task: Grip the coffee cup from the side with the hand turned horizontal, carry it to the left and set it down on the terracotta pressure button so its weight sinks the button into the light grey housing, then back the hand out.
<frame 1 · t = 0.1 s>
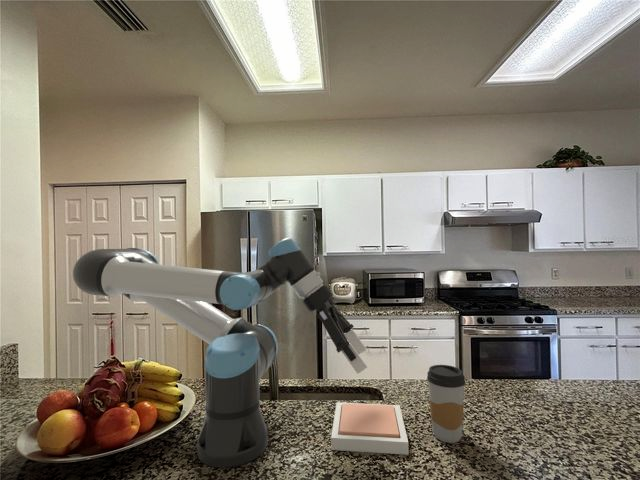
hand: (362, 360, 84), 15 cm above the countertop, tool tilted 35°, fingers open, 13 cm apart
coffee cup: (446, 436, 77), on the countertop
button housing: (368, 431, 79), on the countertop
pressure button: (368, 419, 79), point 3 cm above the countertop, slide at 0.0 cm
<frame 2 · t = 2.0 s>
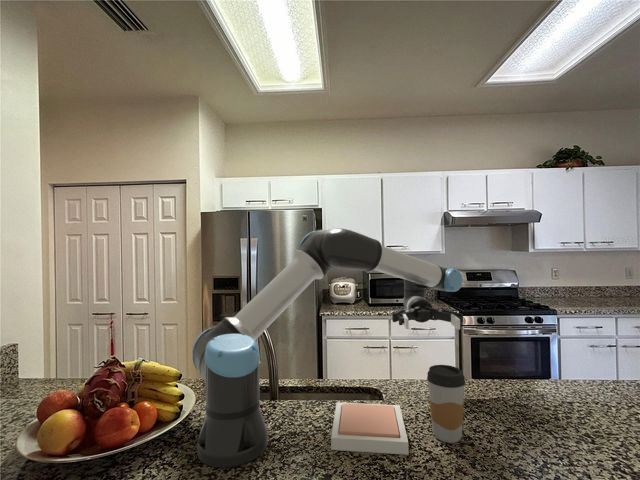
hand: (432, 324, 91), 23 cm above the countertop, tool horizontal, fingers open, 13 cm apart
nothing on the countertop moved.
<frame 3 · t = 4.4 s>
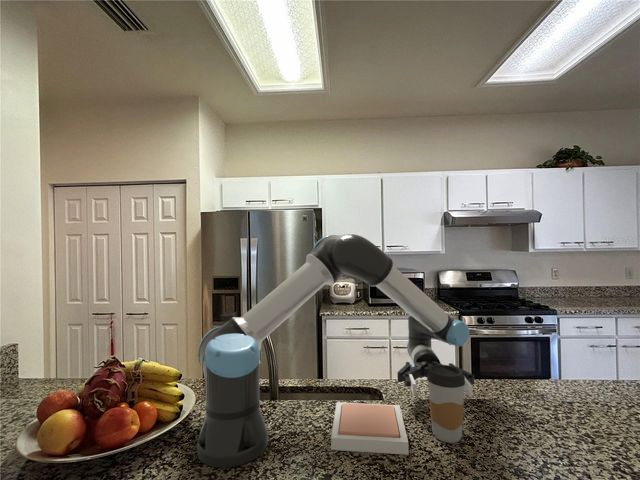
hand: (442, 390, 83), 8 cm above the countertop, tool horizontal, fingers open, 13 cm apart
nothing on the countertop moved.
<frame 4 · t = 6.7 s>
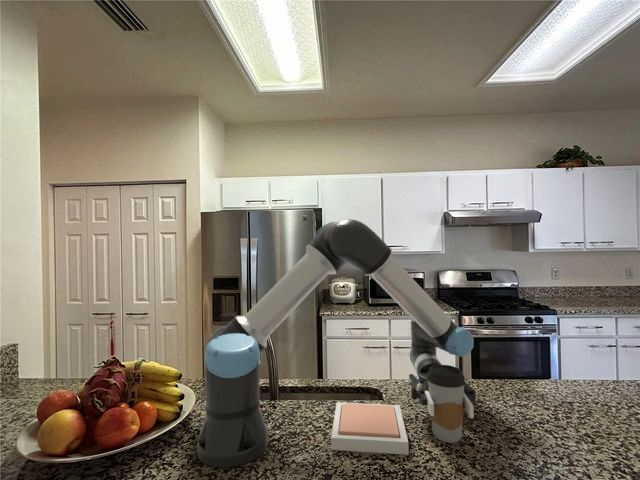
hand: (451, 410, 72), 8 cm above the countertop, tool horizontal, fingers closed on coffee cup, 7 cm apart
coffee cup: (446, 436, 77), on the countertop, touching gripper
everything else where it was.
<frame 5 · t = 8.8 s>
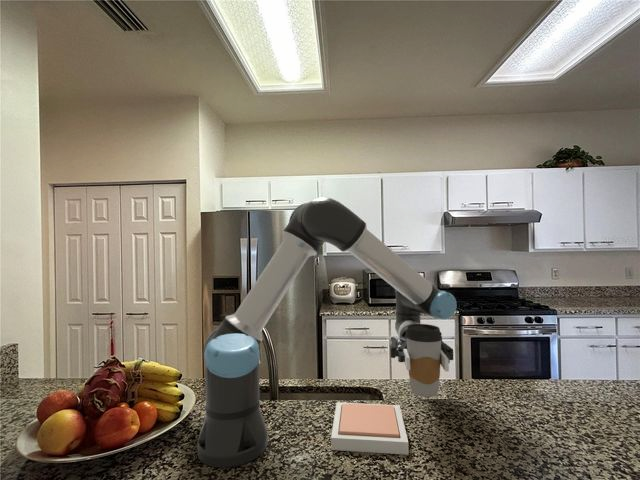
hand: (427, 364, 74), 18 cm above the countertop, tool horizontal, fingers closed on coffee cup, 7 cm apart
coffee cup: (424, 392, 78), point 10 cm above the countertop, touching gripper
everything else where it was.
when the fingers open (12 cm above the countertop, at t = 11.2 s): coffee cup drops 3 cm, resting on pressure button.
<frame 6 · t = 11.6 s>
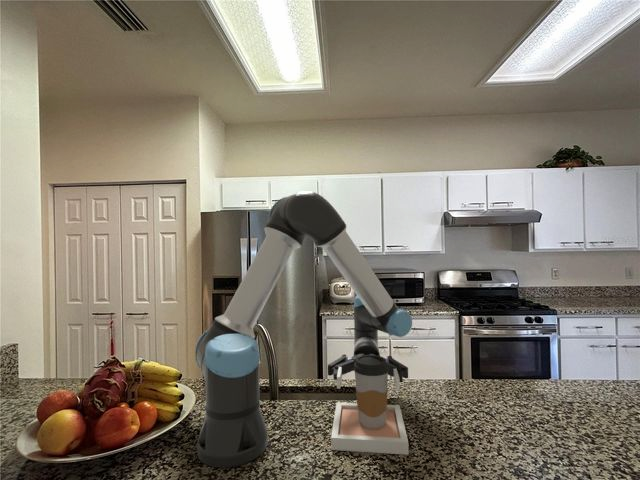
hand: (367, 384, 76), 12 cm above the countertop, tool horizontal, fingers open, 13 cm apart
coffee cup: (372, 423, 79), point 2 cm above the countertop, touching pressure button
pressure button: (368, 425, 79), point 1 cm above the countertop, slide at 1.4 cm, touching coffee cup
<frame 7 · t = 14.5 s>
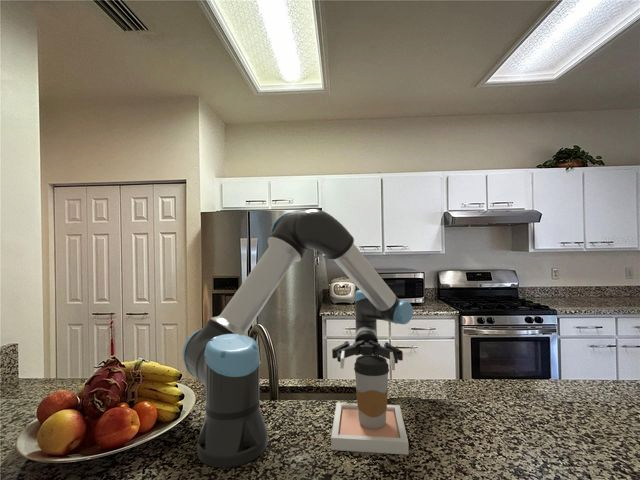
hand: (367, 364, 89), 13 cm above the countertop, tool horizontal, fingers open, 13 cm apart
nothing on the countertop moved.
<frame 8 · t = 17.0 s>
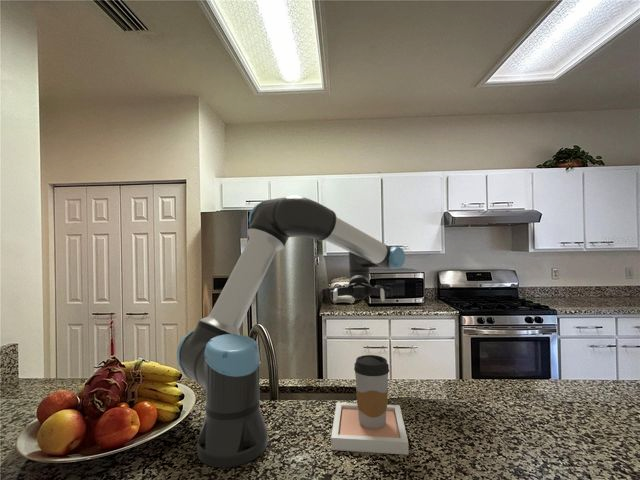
hand: (358, 296, 94), 30 cm above the countertop, tool horizontal, fingers open, 13 cm apart
nothing on the countertop moved.
at the end: pressure button slide at 1.4 cm; coffee cup inside the target area on the button housing (0.9 cm from its centre), point 1.6 cm above the button housing's base; coffee cup tilted 0° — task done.
